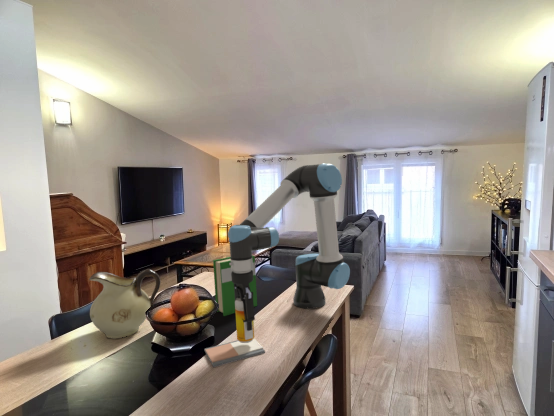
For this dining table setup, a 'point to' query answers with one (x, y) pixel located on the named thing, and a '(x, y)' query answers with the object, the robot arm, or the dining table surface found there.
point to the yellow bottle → (241, 322)
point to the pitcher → (121, 303)
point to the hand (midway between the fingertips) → (245, 334)
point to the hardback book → (229, 285)
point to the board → (233, 352)
